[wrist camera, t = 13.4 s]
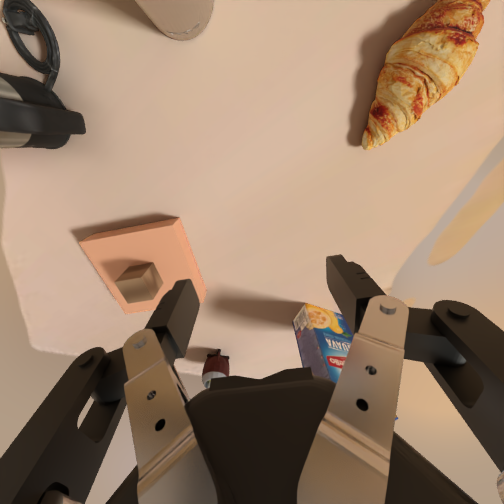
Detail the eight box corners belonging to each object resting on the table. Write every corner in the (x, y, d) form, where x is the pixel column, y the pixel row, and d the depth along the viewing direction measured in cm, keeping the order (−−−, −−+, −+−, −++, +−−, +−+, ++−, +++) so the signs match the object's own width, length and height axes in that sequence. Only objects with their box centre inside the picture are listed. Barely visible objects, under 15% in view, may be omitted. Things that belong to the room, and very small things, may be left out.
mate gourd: (232, 349, 58) (226, 411, 45) (228, 366, 62) (222, 428, 49) (205, 346, 57) (191, 408, 44) (203, 364, 61) (190, 425, 48)
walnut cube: (129, 266, 40) (114, 282, 36) (153, 262, 40) (141, 277, 35) (140, 286, 42) (127, 303, 38) (163, 282, 42) (153, 299, 38)
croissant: (363, 155, 38) (403, 170, 32) (332, 131, 32) (374, 144, 27) (466, 2, 28) (547, -13, 23) (449, -73, 22) (552, -117, 17)
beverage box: (328, 332, 55) (371, 437, 36) (292, 321, 53) (315, 425, 34) (343, 315, 52) (398, 418, 33) (305, 302, 50) (339, 405, 31)
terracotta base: (93, 233, 41) (78, 242, 38) (179, 217, 40) (172, 225, 36) (134, 301, 49) (125, 314, 46) (206, 290, 48) (203, 302, 44)
